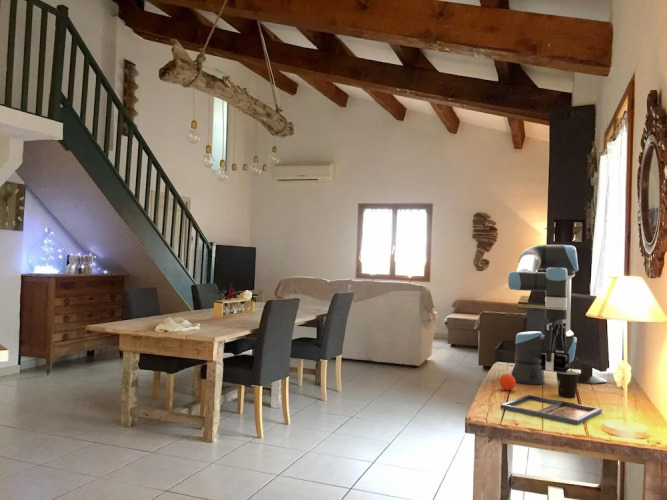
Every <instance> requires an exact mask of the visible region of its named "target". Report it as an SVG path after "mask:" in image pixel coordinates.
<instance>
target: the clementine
mask: <svg viewBox="0 0 667 500" xmlns="http://www.w3.org/2000/svg"><path fill="white" fill-rule="evenodd" d="M499 376H500V377H499ZM498 377H499V380H498V383H499V386H500V387H501V389H503V390H504V391H511V390H514V388H515V387H516V384H517V382H516V381H515V378H514V377H513V376H512V375H511V374H509V373H502V374H499V375H498Z"/></svg>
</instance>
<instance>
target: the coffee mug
mask: <svg viewBox="0 0 667 500" xmlns="http://www.w3.org/2000/svg"><path fill="white" fill-rule="evenodd" d="M555 373H556V381H557V393H558V396H559V397H561V398H566V399H574V398H576V393H577V386H578V378H579V372H576V371H573V370H568V371H567V372H566V373H561V372H555Z"/></svg>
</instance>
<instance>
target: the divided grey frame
mask: <svg viewBox="0 0 667 500" xmlns="http://www.w3.org/2000/svg"><path fill="white" fill-rule="evenodd" d="M528 401H535V402H540V403H541V402H542V403H546V404H550V405H548V406H547V407H543V408H541V409H539V410H533V409H527V408H524V407H518V406H517V405H521V404H522V403H525V402H528ZM500 409H501V410H507V411H512V412H516V413H520V414H525V415H531V416H534V417H539V418H544V419H548V420H554V421H558V422H562V423H568V424H570V425H571V424H572V425H576V426H578V425H581V424H582V423H585V422H586V421H589V420H590V419H593V418H594V417H596V416H599V415H600V414H603V413H602V412H603V409H602V408H599V407H595V406H588V405H585V404H584V405H583V404H579V403H572V402H570V401H569V402H568V401H565V400H564V401H563V400H557V399H554V398H553V399H552V398H547V397H544V396H543V397H541V396H536V395H531V394H527V395H524V396H521V397H518V398H515V399H512V400H510V401H507V402H504V403H501V404H500Z"/></svg>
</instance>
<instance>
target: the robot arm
mask: <svg viewBox="0 0 667 500" xmlns="http://www.w3.org/2000/svg"><path fill="white" fill-rule="evenodd" d="M517 266H518V267H517V269H516V270H514V271H510V272H509V273H508V276H507V277H508V280H507V286H508V288H509V290H511V291H529V292H545V298H544V302H545V309H544V318H545V319H548V323H547V324H544V333H542V331H534V330H533V331H523V332H518V333H517V334H516V335H515V342H514V344H515V354H514V365H513V368H512V371H511V374H510V375H512V376H513V377H514V378H515V381H516V383H518V384H519V383H520V384H523V385H524V384H525V385H526V384H527V385H543V384H545V381H546V379H545V378H546V377H545V375H544V372H543V371H544V370H540V368H541V366H540V362H541V358H540V354H541V351H543V352H546V367H545V370H548V371H547V372H552V371H553V369H554V353H553V352H560V353H569V354H570V363H572V362H573V361H574V360H575V359H574V358H575V355H576V350H577V342H578V338H577V337H576V336H574V332H573V331H572V329H571V312H572V311H571V306H572V303H571V302H572V301H571V300H572V299H571V298H572V297H571V296H572V278H574V277H575V276H576V272H578V271H579V263H578V253H577V248H576V246H574V245H570V244H568V245H567V244H537V245H533V246H530V247H528V248H525V250H522V252H521V253H520V255H519V257H518V265H517ZM537 270H540V272H539V271H538V272H537ZM541 270H542V271H541ZM543 271H546V272H543Z"/></svg>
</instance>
